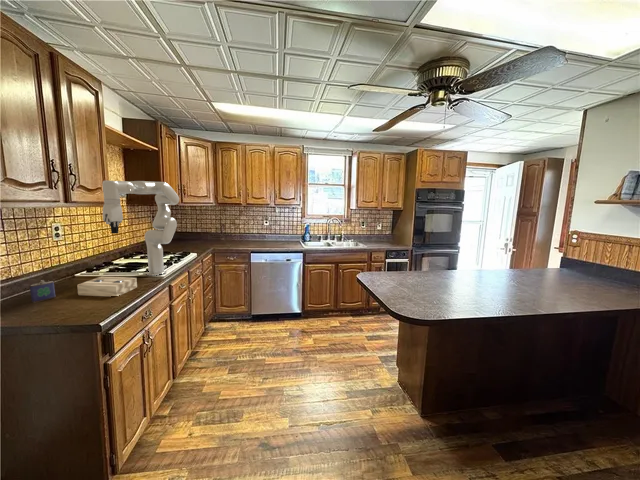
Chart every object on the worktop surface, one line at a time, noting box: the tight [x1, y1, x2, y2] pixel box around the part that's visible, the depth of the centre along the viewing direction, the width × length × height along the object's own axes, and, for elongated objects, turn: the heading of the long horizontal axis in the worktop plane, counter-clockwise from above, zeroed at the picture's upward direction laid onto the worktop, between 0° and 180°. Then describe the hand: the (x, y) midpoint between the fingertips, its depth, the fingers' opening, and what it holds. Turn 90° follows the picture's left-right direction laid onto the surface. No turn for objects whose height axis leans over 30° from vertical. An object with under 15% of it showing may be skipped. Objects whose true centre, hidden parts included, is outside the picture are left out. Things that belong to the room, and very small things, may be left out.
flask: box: [29, 279, 56, 303], centre depth 143 cm, size 9×3×11 cm, turn 152°
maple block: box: [77, 276, 138, 297], centre depth 158 cm, size 16×22×6 cm
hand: (115, 233), depth 162 cm, fingers closed
